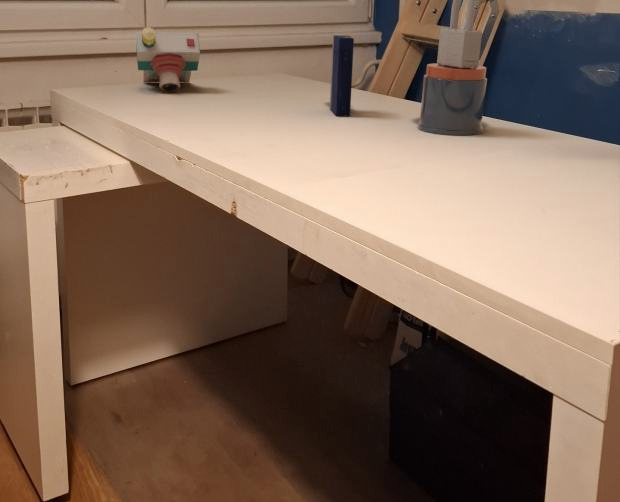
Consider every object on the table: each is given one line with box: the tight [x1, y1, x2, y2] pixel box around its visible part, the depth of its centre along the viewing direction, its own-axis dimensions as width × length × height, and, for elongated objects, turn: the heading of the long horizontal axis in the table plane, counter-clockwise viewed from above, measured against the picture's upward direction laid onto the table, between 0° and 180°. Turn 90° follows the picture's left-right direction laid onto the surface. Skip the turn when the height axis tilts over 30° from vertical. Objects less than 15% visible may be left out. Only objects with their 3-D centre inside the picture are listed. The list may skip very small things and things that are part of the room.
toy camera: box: [135, 26, 201, 92], centre depth 143 cm, size 11×9×20 cm
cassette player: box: [329, 34, 355, 117], centre depth 123 cm, size 7×2×12 cm, turn 7°
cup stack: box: [416, 62, 488, 136], centre depth 112 cm, size 10×10×9 cm
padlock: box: [436, 0, 483, 69], centre depth 108 cm, size 7×4×10 cm, turn 20°
